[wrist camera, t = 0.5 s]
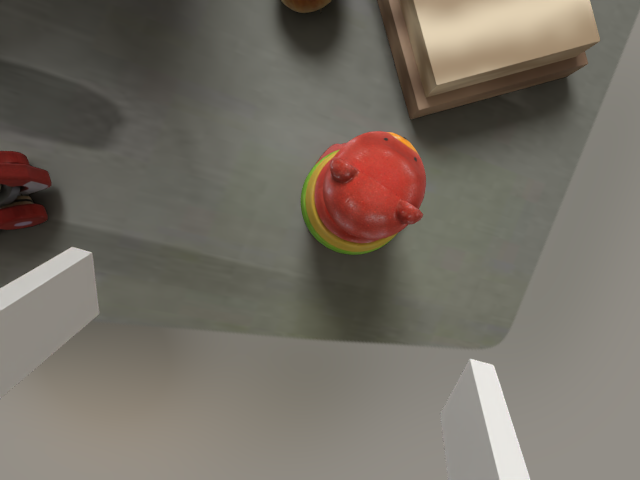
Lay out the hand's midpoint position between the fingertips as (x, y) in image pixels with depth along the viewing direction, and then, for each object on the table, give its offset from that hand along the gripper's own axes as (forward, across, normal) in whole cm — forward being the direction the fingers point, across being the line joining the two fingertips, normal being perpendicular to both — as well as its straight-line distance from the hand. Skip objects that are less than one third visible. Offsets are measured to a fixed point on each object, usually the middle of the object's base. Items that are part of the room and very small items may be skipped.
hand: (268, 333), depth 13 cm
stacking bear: (+28, +1, -6) cm, 28 cm away
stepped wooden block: (+39, +8, +14) cm, 42 cm away
